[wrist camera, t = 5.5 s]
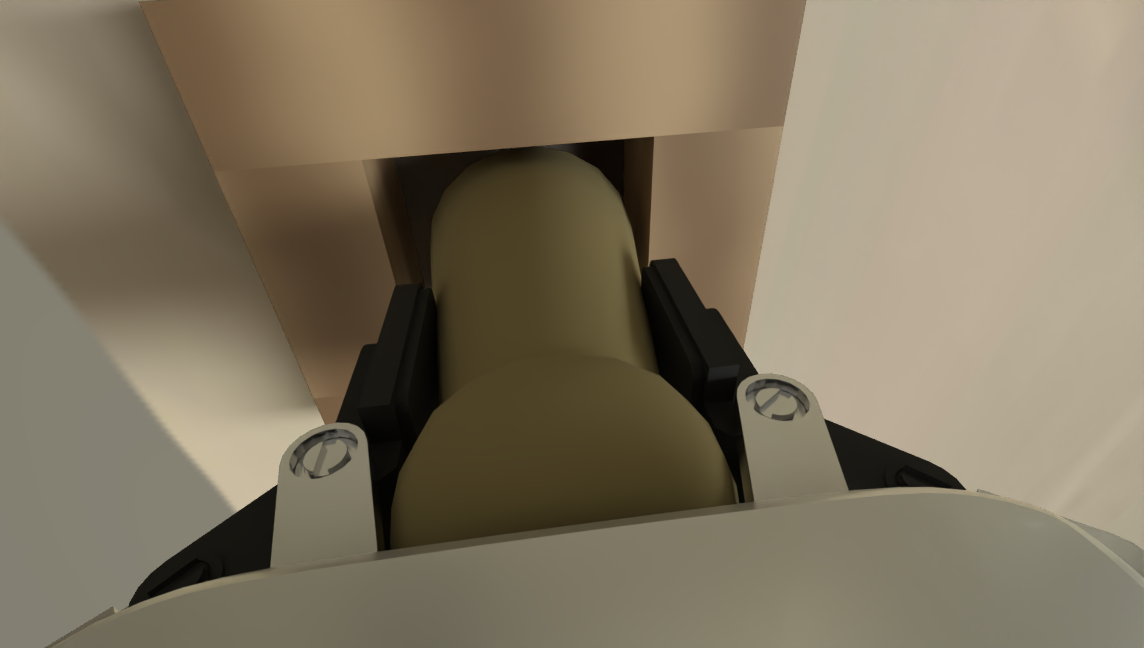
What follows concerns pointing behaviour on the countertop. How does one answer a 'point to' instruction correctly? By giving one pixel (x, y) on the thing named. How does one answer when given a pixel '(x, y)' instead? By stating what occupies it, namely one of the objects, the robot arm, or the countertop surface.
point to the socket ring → (474, 133)
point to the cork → (546, 366)
